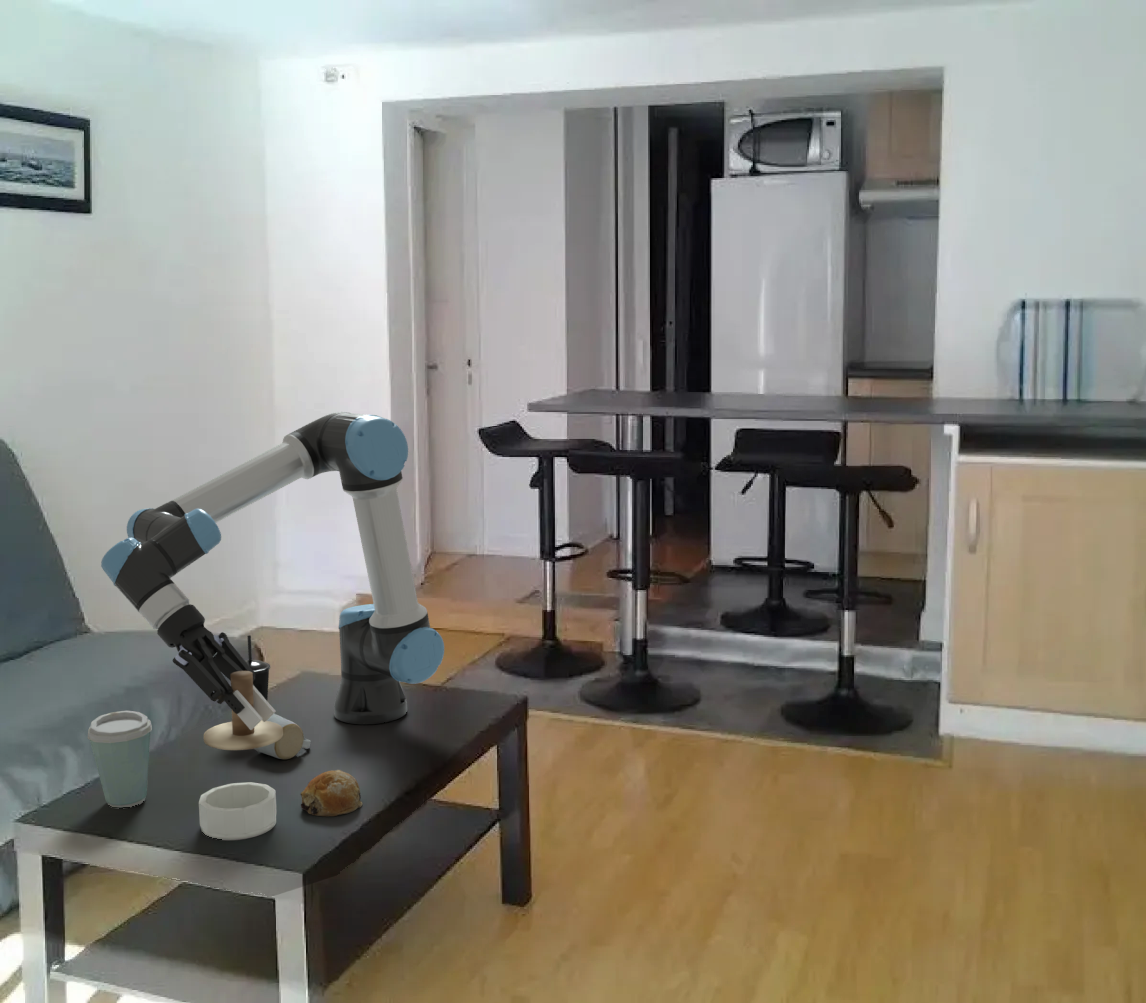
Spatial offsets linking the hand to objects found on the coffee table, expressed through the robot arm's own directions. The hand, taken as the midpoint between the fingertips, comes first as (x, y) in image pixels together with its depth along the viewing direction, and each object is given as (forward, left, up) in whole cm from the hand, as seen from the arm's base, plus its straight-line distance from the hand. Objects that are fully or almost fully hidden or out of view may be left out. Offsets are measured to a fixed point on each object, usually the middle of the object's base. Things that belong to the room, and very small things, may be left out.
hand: (263, 720), depth 213 cm
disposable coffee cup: (+17, -20, -16) cm, 31 cm away
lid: (+2, -3, -3) cm, 5 cm away
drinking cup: (-16, -39, -16) cm, 45 cm away
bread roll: (-9, +5, -17) cm, 20 cm away
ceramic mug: (-15, -24, -16) cm, 33 cm away
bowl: (+6, +2, -16) cm, 17 cm away
